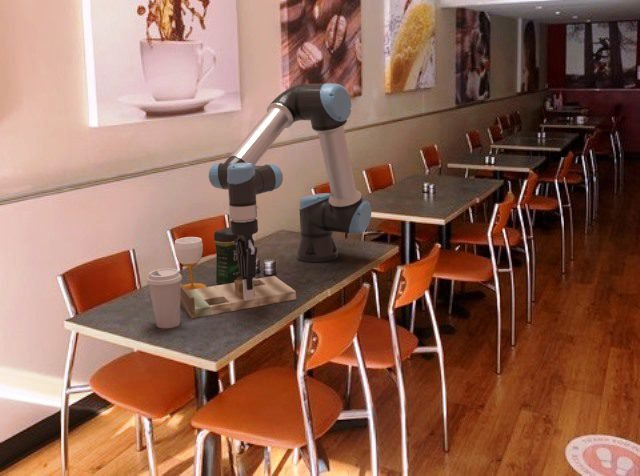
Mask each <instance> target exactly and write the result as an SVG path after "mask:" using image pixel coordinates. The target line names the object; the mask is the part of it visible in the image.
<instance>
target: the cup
mask: <svg viewBox="0 0 640 476" xmlns="http://www.w3.org/2000/svg"><path fill="white" fill-rule="evenodd" d="M174 250H175V254H176V257H177V260H178V262H179V263H180V264H182V265H183V266H184V267H187V268H188V269H189V281H190V283H187V284H182V285H183V286H184V287H185V288H186V289H187V290H193V289H199V288H205V287H207V285H206V284H205V283H199V282H198V283H197V282H194V277H193V267H195V266H197V265H198V264H199V262H201V259H202V257H203V252H204V245H203V239H202V238H201V237H197V236H187V237H186V236H185V237H181V238H177V239H176V240H174Z"/></svg>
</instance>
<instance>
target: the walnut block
mask: <svg viewBox="0 0 640 476" xmlns="http://www.w3.org/2000/svg"><path fill="white" fill-rule="evenodd" d="M234 284H235V295H236V296H237V297H239V298H240V299H242V298H244V296H243V281H242V279H238V280H234ZM253 286H254V282H253Z"/></svg>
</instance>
